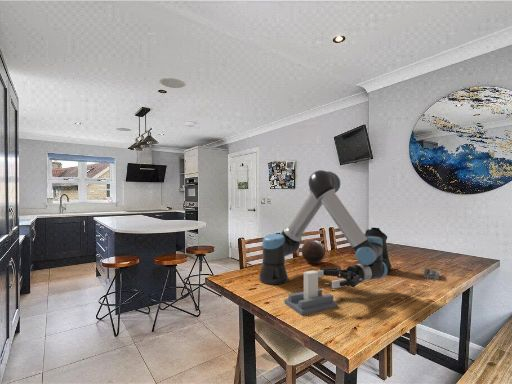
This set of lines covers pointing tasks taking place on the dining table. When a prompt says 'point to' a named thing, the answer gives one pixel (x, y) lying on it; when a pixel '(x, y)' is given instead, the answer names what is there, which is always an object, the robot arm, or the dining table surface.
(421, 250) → the dining table surface
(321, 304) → the rack
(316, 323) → the dining table surface
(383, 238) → the black irregular block
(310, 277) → the white rectangular block
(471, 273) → the dining table surface
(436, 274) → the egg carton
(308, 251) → the wooden sphere
